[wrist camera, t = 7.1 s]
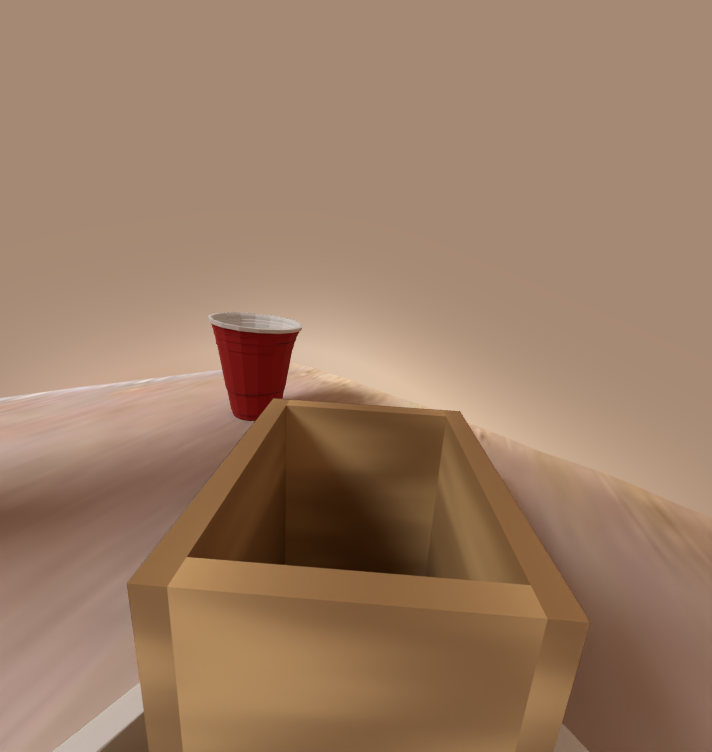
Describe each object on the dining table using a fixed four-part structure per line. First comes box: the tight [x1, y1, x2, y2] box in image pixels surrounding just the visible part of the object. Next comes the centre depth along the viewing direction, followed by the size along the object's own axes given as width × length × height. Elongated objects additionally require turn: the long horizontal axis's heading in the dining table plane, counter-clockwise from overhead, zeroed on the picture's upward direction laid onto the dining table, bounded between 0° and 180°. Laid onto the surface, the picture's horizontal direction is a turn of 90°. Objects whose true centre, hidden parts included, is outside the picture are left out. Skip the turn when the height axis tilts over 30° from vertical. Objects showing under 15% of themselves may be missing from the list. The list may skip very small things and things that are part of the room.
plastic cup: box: [208, 312, 303, 421], centre depth 46 cm, size 11×11×12 cm
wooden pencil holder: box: [127, 399, 590, 752], centre depth 10 cm, size 6×7×14 cm
